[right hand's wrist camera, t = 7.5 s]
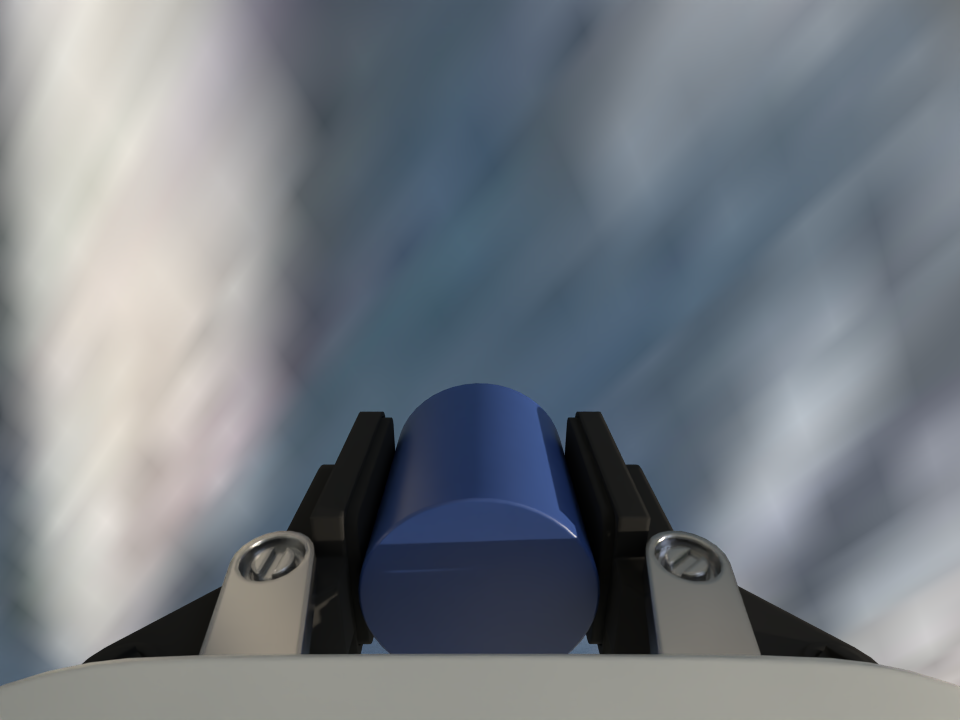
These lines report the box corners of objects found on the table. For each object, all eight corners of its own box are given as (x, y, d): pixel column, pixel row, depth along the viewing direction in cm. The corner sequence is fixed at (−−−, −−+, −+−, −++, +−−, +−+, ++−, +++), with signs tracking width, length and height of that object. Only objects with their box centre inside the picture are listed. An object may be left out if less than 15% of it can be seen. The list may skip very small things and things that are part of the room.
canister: (363, 448, 13) (306, 588, 9) (490, 348, 12) (496, 452, 8) (469, 550, 14) (465, 717, 10) (594, 466, 13) (647, 612, 9)
